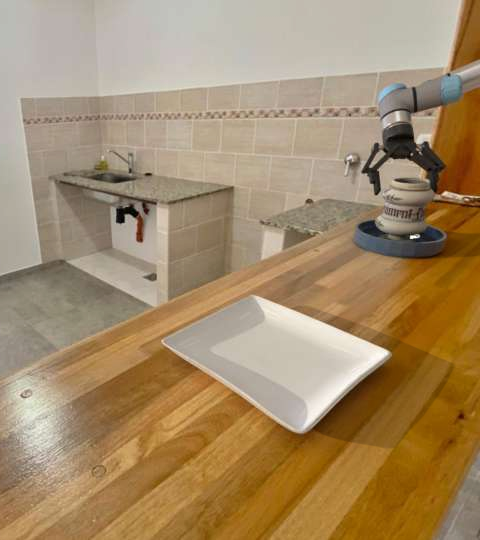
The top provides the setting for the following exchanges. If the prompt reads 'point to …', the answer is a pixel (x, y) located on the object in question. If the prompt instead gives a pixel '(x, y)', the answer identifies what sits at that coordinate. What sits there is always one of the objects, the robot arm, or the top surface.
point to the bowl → (424, 246)
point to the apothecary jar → (404, 208)
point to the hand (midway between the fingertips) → (405, 192)
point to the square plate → (278, 359)
